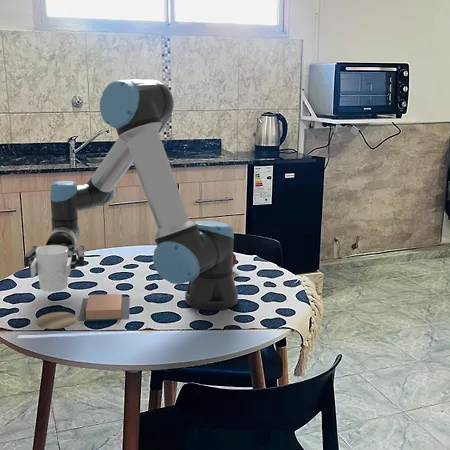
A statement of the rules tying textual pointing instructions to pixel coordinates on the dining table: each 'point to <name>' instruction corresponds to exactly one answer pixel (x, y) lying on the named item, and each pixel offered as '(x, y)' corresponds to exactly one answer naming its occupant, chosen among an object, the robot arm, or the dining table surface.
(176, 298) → the dining table surface
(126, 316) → the mat
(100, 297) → the tile
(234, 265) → the onion
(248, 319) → the dining table surface
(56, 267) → the white cup
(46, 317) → the coaster
